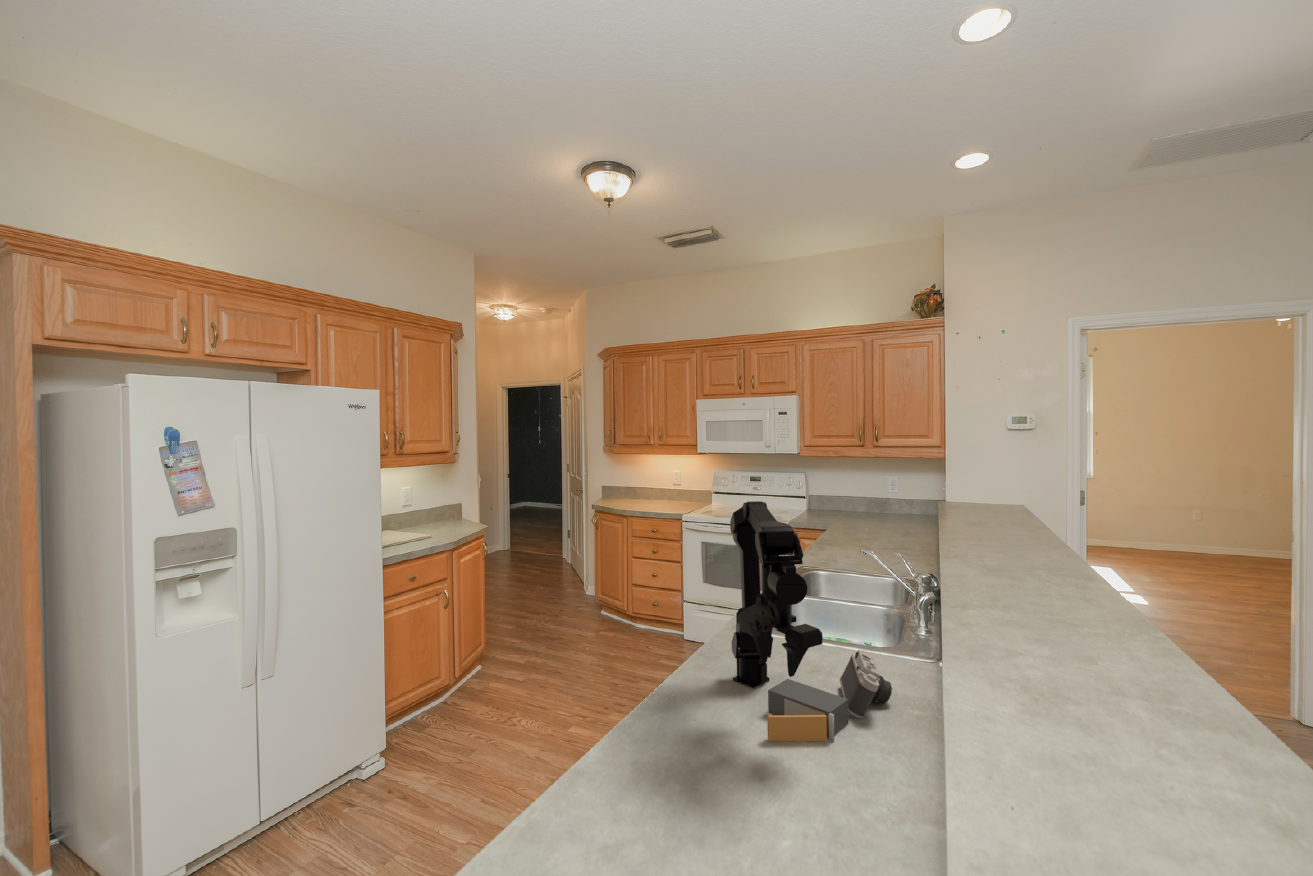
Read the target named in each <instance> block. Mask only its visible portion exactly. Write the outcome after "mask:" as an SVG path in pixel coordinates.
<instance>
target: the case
mask: <svg viewBox="0 0 1313 876" xmlns="http://www.w3.org/2000/svg"><path fill="white" fill-rule="evenodd" d="M767 693H768V694H767V697H768V698H767V701H768V702H767V703H768V704H767V705H768V706H767V709H768V710H767V714H772V716H775V715H826V716H827V739H828V741H829V743H835V735H836V734H838V733H839V732H840V731H842V730H843V729H844V728H845V727H846V726H848V725H849V712H848V699H846V698H844V697H843V696H840V695H837V694H835V693H831V692H827V691H825V690H822V689H819V688H816V687H813V686H811V685H808V684H805V683H801V682H799V681H796V680H792V679H789V678H785V680H783V681H781V682H780V683H777V684H776V685H774V686H772V687H771V688H769V689H768V690H767Z"/></svg>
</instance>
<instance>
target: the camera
mask: <svg viewBox="0 0 1313 876" xmlns="http://www.w3.org/2000/svg"><path fill="white" fill-rule="evenodd" d="M839 684H840V688H841V693H842V697H843V698H846V699H848V714H850V715H851V716H853V717H855V718H856V719H857V718H858V719H860V720H861V719H864V717H865V715H866V713H867V711H868V709H869V706H870V705H871V704H872V702H873V703H874V702H877V703H879V704H880V705H884V704H886V703H887V702H889V700H890V698H891V696H892V692H893V688H892V683H891V681H889V680H888V681H887V680H886V679H885V678H884V677H883V676H882V675H881V674H880V672H879V669H878V667H877V664H876V662H875V658H874V656H873V655H872V654H870V653H868V652H867V651H866V650H864V649H862V650H861V649H858V650H857V652H852V653H851V655H850V657H849V660H848V662H847V665H846V667H845V669H844V671H843V673H842V675H841V676H840V677H839Z"/></svg>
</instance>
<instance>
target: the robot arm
mask: <svg viewBox="0 0 1313 876" xmlns="http://www.w3.org/2000/svg"><path fill="white" fill-rule="evenodd" d="M729 527H730V533H731V534H732V540H733V542H734V543H735V545H736V546H737V548H738V550H739V556H740V558H739V559H740V582H741V583H740V584H741V585H740V586H741V607H740V608H739V609H738V610H737V612H736V613H735V615H736V616H735V617H736V619H735V621H736V622H735V631H734V632H733V635H732V639H731V652H732V654H733V657H734V658H735V659H736V676H734V677H732V681H734V682H737V683H739V684H741V685H744V686H747V687H750V688H753V689H756V688H758V687H759V686H762V685H763V684H765V683H767V682H769V681H770V677H769V676H768V663H767V662H768V659H769V658H770V659H771V656H772V651H773V643H774V637H773V636H772V634H773V630H775V631H777V632H779V633H782V634H784V639H785V642H783V643H781V646H782V647H783V648H784V650H786V662H787V672H788V673H787V675H788V677H791V678H792V677H795V674H796V673H797V670H798V668H799V666H800V664H801V662H802V660H803V659H804V657H805V655H806V653H807V651H808V650H809V649H810V648H813V647H817V646H820V645H823V643H824V642H823V632H822V630H820V629H819V628H818V627H815V626H813V625H810V624H807V623H803V624H799V625H798V624H797V625H792V624H793V623H796V622H797V616H796V615H793V614H792V613H793V608H792V605H793V606H794V605H798V604H800V603H801V602H802V601H803V600H804V599H805V597H806V596H807V593H808V585H807V582H806V580H805V578H804V577H803V576H802V575H800V574H799V573H798V572H797V566H796V565H803V563H804V562H803V557H804V552H803V549H802V548H803V547H802V545H801V541H800V538H799V536H798V533H797V532H796V531H795V530H794V528H793V527H792V526H791V525H790V524H789V523H787V522H781V521H778V520H777V519H776V518H775V516H774V515H773V513H772V512H771V511H770V510H769V509H768V506H767V502H765V501H759V500H757V501H752V500H751V501H746V502H743V504H742V506H741V507H740V508H738V509H736V510H735V511H734V512H732V515H731V518H730V522H729ZM760 564H761V573H760Z"/></svg>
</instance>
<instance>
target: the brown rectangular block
mask: <svg viewBox="0 0 1313 876" xmlns="http://www.w3.org/2000/svg"><path fill="white" fill-rule="evenodd" d="M767 741H768V742H819V741H821V742H822V741H824V742H826V741H828V737H827V716H826V715H775V716H773V715H772V714H768V713H767Z"/></svg>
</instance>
